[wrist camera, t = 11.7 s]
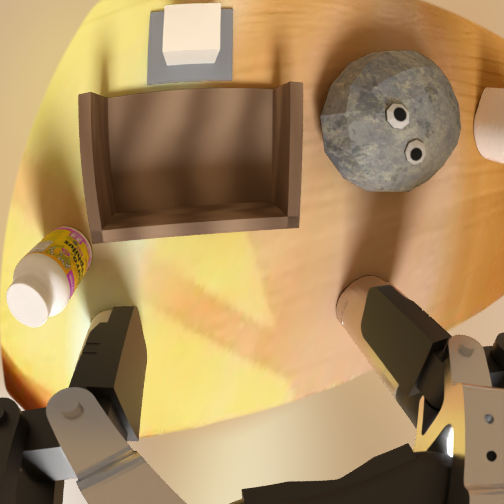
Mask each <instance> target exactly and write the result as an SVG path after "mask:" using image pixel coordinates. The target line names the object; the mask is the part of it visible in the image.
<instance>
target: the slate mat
mask: <svg viewBox="0 0 504 504" xmlns="http://www.w3.org/2000/svg"><path fill="white" fill-rule="evenodd" d="M163 26H164V11H158V12H151V13H150V26H149V44H148V76H147V84H148V85H152V84H162V83H174V82H190V81H232V45H233V9H221V21H220V51H219V53H218V56H217V58H216V61H215V63H203V64H182V65H169V66H167V64H166V61H165V58H164V55H163V52H162V51H163Z"/></svg>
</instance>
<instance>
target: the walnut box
mask: <svg viewBox="0 0 504 504" xmlns="http://www.w3.org/2000/svg"><path fill="white" fill-rule="evenodd" d="M78 104H79V137H80V153H81V165H82V175H83V184H84V193H85V200H86V207H87V214H88V220H89V226H90V232H91V238H92V243H93V244H95V243H106V242H116V241H127V240H139V239H150V238H162V237H174V236H187V235H200V234H213V233H227V232H241V231H256V230H272V229H288V228H299V218H300V197H301V173H302V138H303V83H301V82H288V83H286V84H284V85H281V86H279V87H277V88H274V89H256V88H206V89H184V90H170V91H158V92H149V93H140V94H132V95H125V96H118V97H111V98H106V97H103V96H101V95H98V94H95V93H92V92H88V93H84V94H79V95H78Z"/></svg>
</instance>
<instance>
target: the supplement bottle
mask: <svg viewBox="0 0 504 504" xmlns="http://www.w3.org/2000/svg"><path fill="white" fill-rule="evenodd" d="M91 260H92V251H91V247H90V244H89V242H88V240H87V239H86V237H85V236H84V235H83V234H82V233H81V232H80V231H78V230H77V229H75V228H72V227H66V226H64V227H59V228H57V229H55V230H53V231H52V232H51V233H49V234H48V235H47V236H46V237H45V238H44V239H43V240H41V241H40V242H39V243H38V244H37V245H36V246H35V247H34V248H33V249H32V250H31V251H30V252H29V253H27V254H26V255H25V256H24V257H23V258H22V259H21V260H20V261H19V263H18V264H17V266H16V268H15V271H14V276H13V283H12V284H11V285H10V287H9V288H8V290H7V295H6V299H7V304H8V307H9V309H10V311H11V313H12V314H13V315H14V317H15V318H16V319H17V320H18V321H20V322H21V323H23V324H24V325H26V326H29V327H39V326H42V325H43V324H44V323H45V322H46V320H47V319H48V317H50V316H54V315H57V314H58V313H60V312H61V311H62V310H63V309H64V308H65V307H66V305H67V304H68V302H69V300H70V298H71V296H72V295H73V293H74V291H75V290H76V288H77V286H78V285H79V283H80V281H81V280H82V278H83V276H84V275H85V273H86V271H87V270H88V268H89V266H90V264H91Z"/></svg>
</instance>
